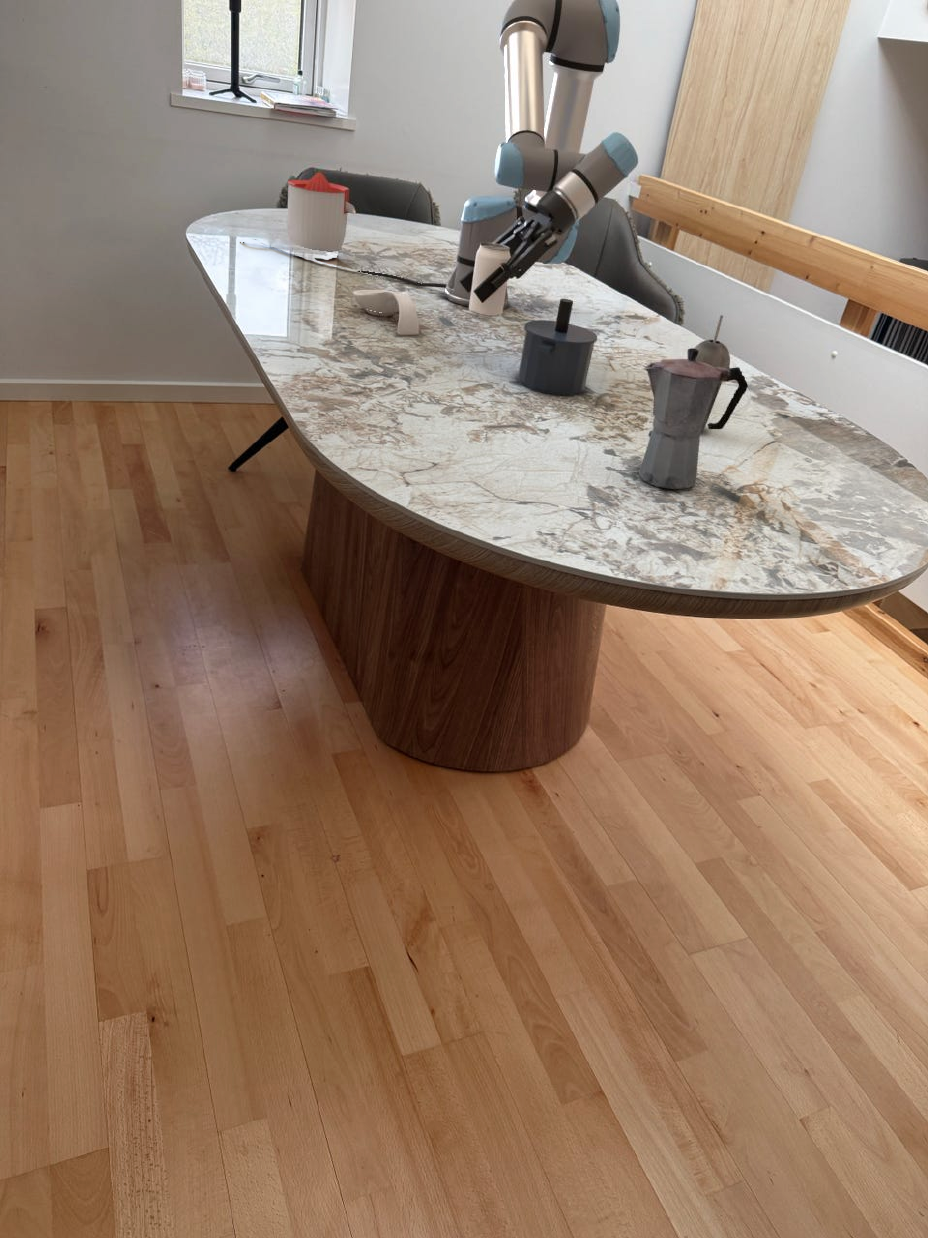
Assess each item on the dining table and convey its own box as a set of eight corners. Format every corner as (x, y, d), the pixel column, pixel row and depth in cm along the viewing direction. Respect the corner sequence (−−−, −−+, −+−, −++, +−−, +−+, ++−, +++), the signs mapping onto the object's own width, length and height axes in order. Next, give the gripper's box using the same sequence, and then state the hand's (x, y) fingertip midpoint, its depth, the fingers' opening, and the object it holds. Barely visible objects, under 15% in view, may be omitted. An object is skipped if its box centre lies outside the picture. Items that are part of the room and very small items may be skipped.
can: (499, 318, 174) (509, 251, 168) (465, 312, 174) (474, 245, 168) (504, 311, 179) (514, 246, 173) (472, 305, 180) (481, 240, 174)
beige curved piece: (344, 303, 205) (346, 270, 201) (393, 305, 210) (397, 272, 206) (383, 336, 187) (386, 299, 184) (435, 336, 192) (440, 301, 189)
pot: (503, 386, 170) (511, 334, 165) (535, 365, 185) (544, 317, 180) (567, 404, 167) (578, 351, 162) (595, 381, 181) (606, 332, 176)
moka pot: (613, 461, 146) (643, 334, 135) (706, 471, 148) (743, 346, 137) (627, 487, 137) (660, 353, 127) (725, 496, 140) (766, 366, 129)
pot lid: (512, 335, 168) (518, 297, 164) (537, 321, 179) (544, 286, 175) (583, 353, 164) (591, 315, 160) (604, 338, 175) (612, 302, 171)
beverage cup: (713, 427, 167) (745, 314, 157) (708, 439, 161) (742, 323, 151) (673, 417, 169) (703, 305, 158) (667, 429, 163) (698, 313, 152)
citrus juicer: (348, 267, 236) (354, 181, 226) (279, 257, 235) (282, 170, 225) (355, 255, 250) (361, 174, 239) (290, 245, 248) (293, 163, 238)
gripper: (598, 232, 166) (501, 321, 169) (551, 211, 181) (463, 293, 183) (578, 198, 161) (479, 290, 164) (531, 179, 176) (441, 263, 179)
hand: (470, 291), depth 174 cm, fingers closed on can, 6 cm apart
